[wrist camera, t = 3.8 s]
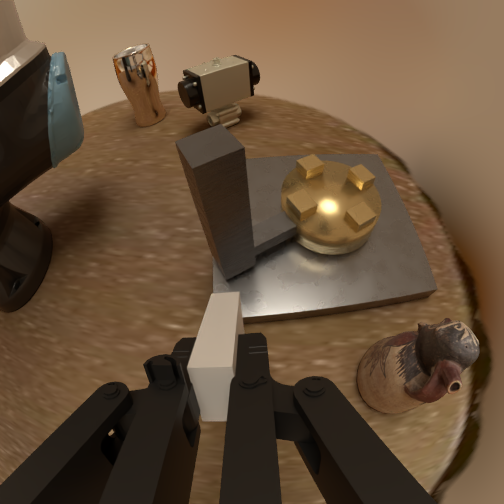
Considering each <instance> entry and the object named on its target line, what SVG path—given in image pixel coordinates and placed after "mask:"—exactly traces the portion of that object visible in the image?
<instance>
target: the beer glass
mask: <svg viewBox="0 0 504 504" xmlns="http://www.w3.org/2000/svg"><path fill="white" fill-rule="evenodd" d="M112 59H113V63H114V67H115V72H116V75H117V78H118V81H119V83H120V85H121V88H122V89H123V91H124V93H125V95H126V96H127V98H128V100H129V101H130V103H131V105H132V107H133V110H134V114H135V121H136V124H137V125H138V126H140V127H147V126H151V125H154V124H156V123H158V122H160V121H161V120H162V119H163V118H164V117H165V116H166V110H165V108H164V107H163V105H162V103H161V100H160V96H159V89H158V75H157V68H156V64H155V60H154V57H153V54H152V51H151V48H150V45H149V44H148V43H145V44H139V45H136V46H132V47H130V48H127V49H125V50H123V51H121V52H119V53H117V54H115V55H114V56H113V57H112Z"/></svg>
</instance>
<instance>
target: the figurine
mask: <svg viewBox="0 0 504 504" xmlns="http://www.w3.org/2000/svg"><path fill="white" fill-rule="evenodd" d="M478 355H479V341H478V339H477V338H476V337H475V335H474V334H473V332H472V331H471V330H470V329H469V328H468V327H467V326H466V325H465V324H464V323H462V322H460V321H451V320H450V319H449V318H445V319H444V321H442V322H441V323H440V324H435V325H428V324H426V323H423V322H420V323H418V331H408V332H403V333H401V334H399V335H397V336H392V337H387V338H384V339H382V340H380V341H378V342H377V343H375V344H374V345H373V346H372V347H371V348H370V349H369V350H368V351H367V352H366V354H365V355H364V357H363V358H362V360H361V362H360V365H359V369H358V373H357V383H358V388H359V391H360V394H361V396H362V398H363V399H364V401H365V402H366V403H367V404H368V405H369V406H370V407H372V408H374V409H375V410H377V411H379V412H384V413H389V414H393V413H401V412H405V411H408V410H411V409H414V408H416V407H418V406H420V405H422V404H424V403H431V402H434V401H437V400H438V399H440V398H441V397H443V396H444V395H445V394H446V393H447V392H448V393H449V394H454V393H456V392H458V391H459V390H460V389H461V388H462V381H461V378H460V374H461V373H462V372H463V371H464V370H465V369H466V368H468V367H469V366H470V365H472V364H473V363H474V362H475V361H476V359H477V358H478Z"/></svg>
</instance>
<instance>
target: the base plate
mask: <svg viewBox="0 0 504 504" xmlns="http://www.w3.org/2000/svg"><path fill="white" fill-rule="evenodd" d="M307 156H309V155H297V156H280V157H266V158H254V159H246V168H247V178H248V188H249V198H250V209H251V219H252V226H254V225H256V224H258V223H260V222H262V221H264V220H267V219H269V218H271V217H273V216H275V215H277V214H279V213H281V188H282V184H283V181H284V179H285V178H286V176H287V175H288V174H289V172H291V171H292V170H293V169H294V168H296V160H299V159H301V158H304V157H307ZM315 156H316V157H318V158H319V159H320V160H321V161H324V160H325V161H334V162H339V163H343V164H346V165H348V166H351V167H355V166H357V165H360V164H362V165H363V166H364V167H365V168H366V169H368V170H369V171H370V172H371V173H372V174H373V175H374V176H375V177H376V178H375V181H374V183H373V184H374V186H375V187H376V189H377V190H378V193H379V195H380V198H381V205H382V206H381V213H380V216H379V218H378V221H377V223H376V225H375V227H374V229H373V231H372V233H371V235H370V237H369V239H368V240H367V241H366V243H365V244H364V245H362V246H361V247H360V248H358V249H356V250H355V251H352V252H349V253H346V254H340V255H328V254H321V253H318V252H314V251H312V250H309V249H307V248H305V247H304V246H302V245H301V244H299V243H298V242H296V241H295V240H294V239H293V238H292V237H290V238H288V239H286V240H284V241H283V242H281V243H279V244H277V245H275V246H273V247H271V248H269V249H267V250H265V251H263V252H261V253H259V254H257V255H255V260H256V265H255V266H253V267H251V268H249V269H247V270H245V271H243V272H241V273H239V274H237V275H235V276H234V277H232V278H230V279H228V280H226V279H225V277H224V275H223V273H222V272H221V270H220V268H219V266H218V265H217V263H216V261H215V259H214V257H213V294H214V293H227V292H240V301H241V309H242V318H243V324H249V323H260V322H271V321H280V320H290V319H298V318H307V317H314V316H322V315H329V314H336V313H343V312H350V311H356V310H362V309H368V308H374V307H380V306H385V305H391V304H396V303H401V302H406V301H411V300H416V299H421V298H426V297H429V296H430V295H431V294H433V293H434V292H435V291H436V290H437V286H436V283H435V280H434V277H433V274H432V271H431V268H430V266H429V263H428V260H427V258H426V255H425V252H424V250H423V247H422V245H421V242H420V240H419V237H418V235H417V232H416V230H415V228H414V225H413V223H412V221H411V219H410V216H409V214H408V212H407V210H406V208H405V206H404V204H403V201H402V199H401V197H400V195H399V193H398V191H397V189H396V187H395V185H394V183H393V181H392V180H391V178H390V176H389V174H388V172H387V170H386V168H385V167H384V165H383V163H382V161H381V159H380V158H379V156H378V154H324V155H315Z"/></svg>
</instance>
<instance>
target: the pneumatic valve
mask: <svg viewBox="0 0 504 504" xmlns="http://www.w3.org/2000/svg"><path fill="white" fill-rule="evenodd" d="M183 74H184V77H183V80H184V81H181V82H179V83H178V92H179V95H180V98H181V100H182V102H183V104H184V105H185V106H186V107H187V108H191V107H194V108H196V109H197V110H198V111H200V112H201V113H202V114H204V113H207V112H209V111H211V112H210V113H208V114H207V120H208V123H209V124H210V125H211V126H213V127H214V126H216V125H219V124H222V125H223V126H224V127H225V128H227V127H229V126H232V125H234V124H237V123H239V121H240V119H239V118H238V117H239V116H240V115H241V108H240V106H239V105H238V104H236V103H235V102H236V101H239V100H242V99H245V98H248V97H251V96H254V89H255V87H254V86H253V85H256V84H258V83H259V81H260V73H259V70H258V67H257V66H256V64H255V63H254V62H252V61H250V60H248V59H245V58H242V57H240V56H237V55H233V56H229V57H226V58H222V59H219V58H218V57H217V58H213V60H211V61H210V62H208V63H202V65H198V66H195V67H192V68H189V69H187V70H183Z"/></svg>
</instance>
